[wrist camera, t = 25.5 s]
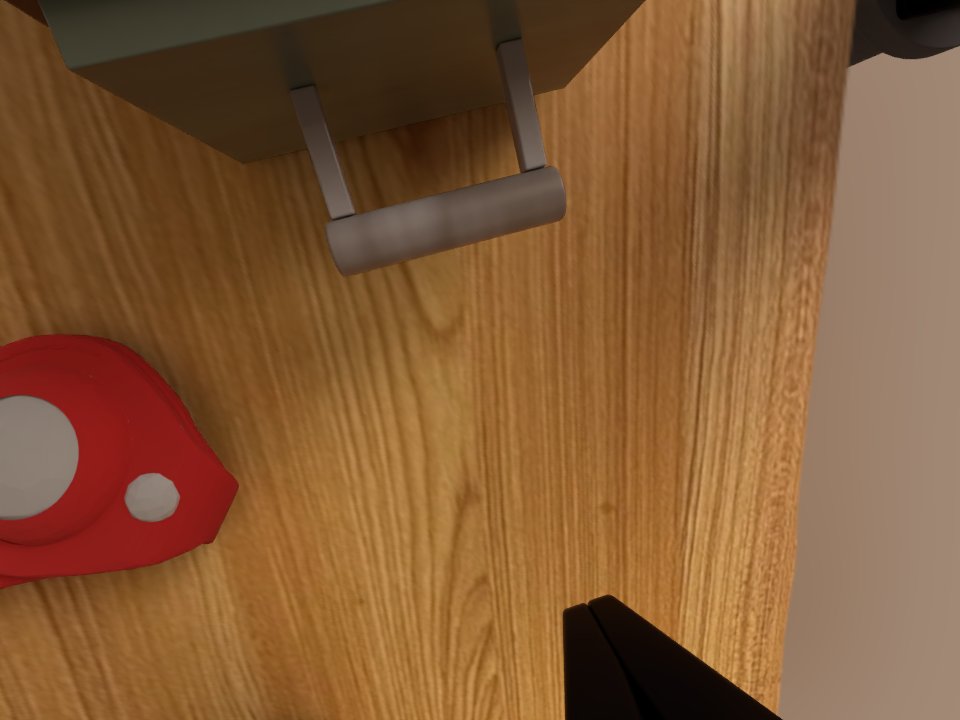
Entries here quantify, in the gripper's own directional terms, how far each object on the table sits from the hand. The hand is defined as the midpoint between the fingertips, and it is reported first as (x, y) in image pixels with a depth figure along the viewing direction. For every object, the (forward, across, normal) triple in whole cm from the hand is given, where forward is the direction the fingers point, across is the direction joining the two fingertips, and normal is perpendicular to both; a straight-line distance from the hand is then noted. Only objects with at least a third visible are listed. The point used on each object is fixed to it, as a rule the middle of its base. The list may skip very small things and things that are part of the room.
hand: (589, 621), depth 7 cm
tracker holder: (+12, +16, -2) cm, 20 cm away
